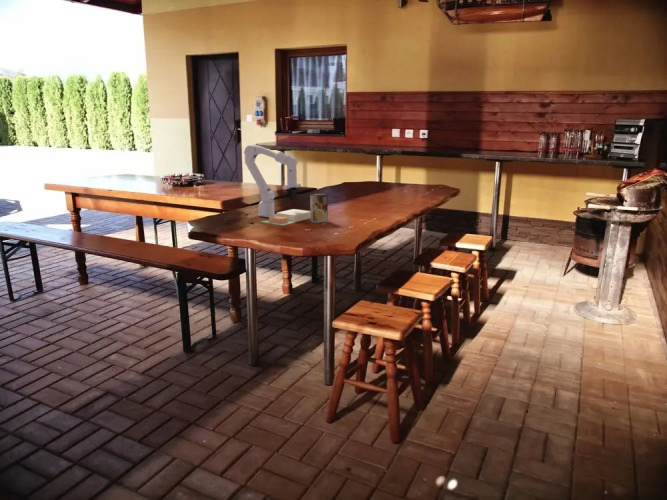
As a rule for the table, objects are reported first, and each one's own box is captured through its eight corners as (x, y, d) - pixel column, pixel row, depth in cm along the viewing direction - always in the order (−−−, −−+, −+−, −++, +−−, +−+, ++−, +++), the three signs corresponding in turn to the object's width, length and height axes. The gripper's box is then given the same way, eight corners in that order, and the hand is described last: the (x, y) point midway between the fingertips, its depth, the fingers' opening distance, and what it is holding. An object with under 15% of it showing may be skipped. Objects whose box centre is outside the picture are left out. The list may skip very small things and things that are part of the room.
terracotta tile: (275, 215, 307) (275, 220, 308) (268, 217, 303) (268, 221, 303) (287, 217, 302) (287, 221, 303) (280, 219, 298) (280, 223, 298)
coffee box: (325, 220, 311) (325, 193, 307) (327, 222, 305) (328, 194, 301) (310, 220, 309) (309, 193, 305) (312, 223, 303) (312, 195, 299)
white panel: (276, 219, 312) (276, 212, 311) (293, 215, 325) (293, 209, 324) (294, 222, 304) (294, 215, 303) (311, 218, 317) (311, 211, 316)
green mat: (261, 222, 303) (261, 221, 303) (275, 219, 313) (275, 218, 313) (282, 225, 294) (282, 225, 294) (296, 222, 304) (296, 221, 304)
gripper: (289, 179, 305) (289, 202, 309) (304, 176, 317) (304, 199, 320) (280, 178, 309) (280, 201, 313) (295, 176, 321) (296, 198, 324)
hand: (292, 200), depth 317 cm, fingers closed
